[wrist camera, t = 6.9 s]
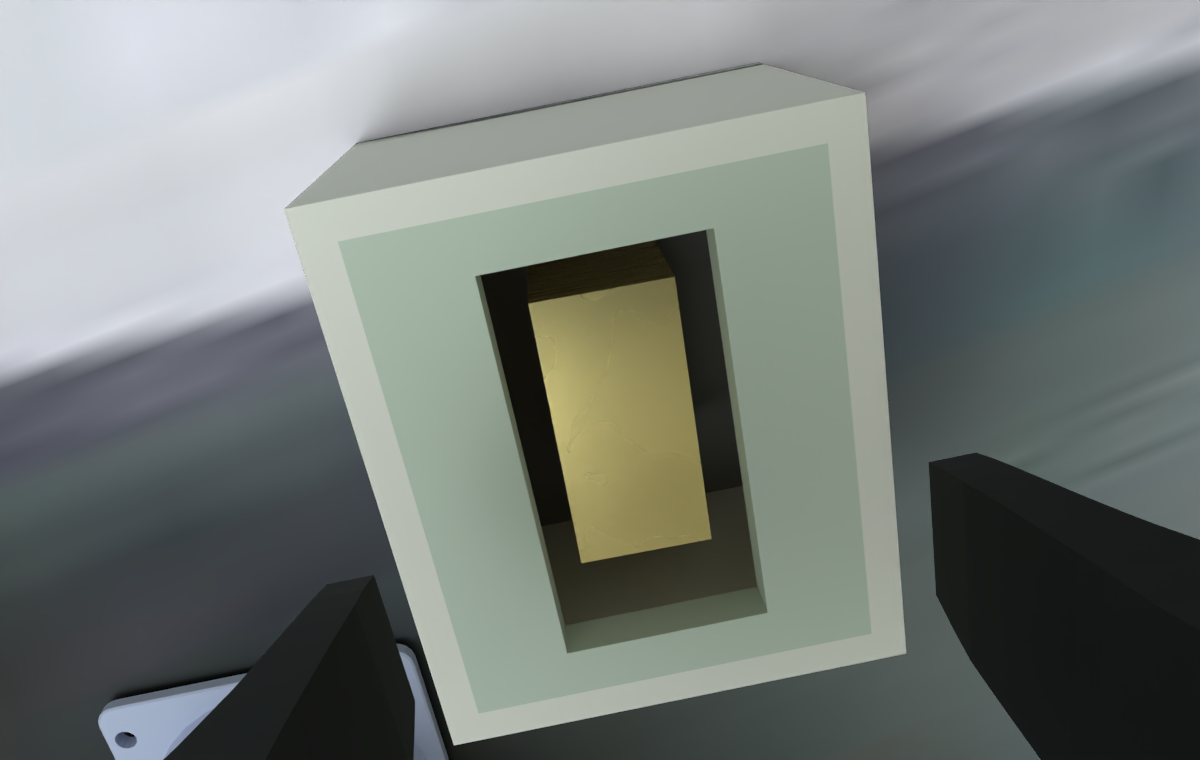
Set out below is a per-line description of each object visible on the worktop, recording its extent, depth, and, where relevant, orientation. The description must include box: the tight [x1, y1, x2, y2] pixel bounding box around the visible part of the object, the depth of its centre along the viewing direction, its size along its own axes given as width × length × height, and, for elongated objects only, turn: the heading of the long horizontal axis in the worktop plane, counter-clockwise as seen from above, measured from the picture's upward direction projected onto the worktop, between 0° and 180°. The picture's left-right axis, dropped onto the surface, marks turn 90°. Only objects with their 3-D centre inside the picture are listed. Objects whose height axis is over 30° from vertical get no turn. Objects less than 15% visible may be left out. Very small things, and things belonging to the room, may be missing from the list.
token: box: [527, 240, 712, 563], centre depth 19 cm, size 5×2×5 cm, turn 9°
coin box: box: [284, 63, 906, 745], centre depth 18 cm, size 10×8×6 cm
